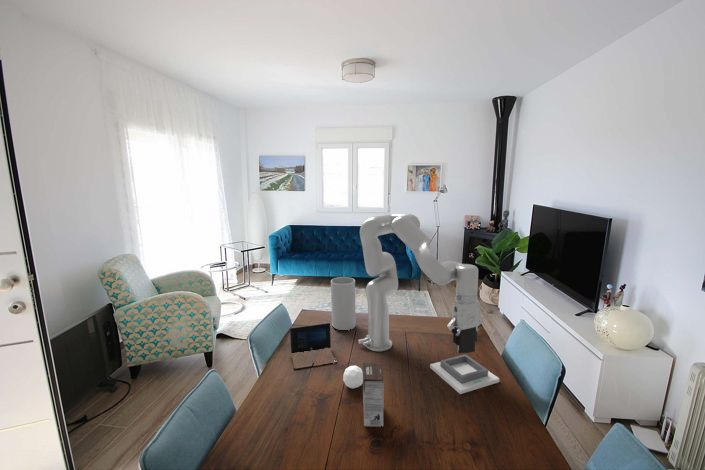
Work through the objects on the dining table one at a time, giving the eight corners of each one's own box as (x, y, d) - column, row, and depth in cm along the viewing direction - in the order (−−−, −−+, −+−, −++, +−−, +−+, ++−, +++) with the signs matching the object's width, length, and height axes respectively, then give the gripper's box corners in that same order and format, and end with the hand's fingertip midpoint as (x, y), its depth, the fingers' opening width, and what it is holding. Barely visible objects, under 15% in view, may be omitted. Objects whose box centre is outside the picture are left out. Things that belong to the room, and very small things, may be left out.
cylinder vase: (360, 325, 169) (360, 280, 165) (344, 334, 160) (342, 286, 156) (343, 319, 178) (342, 275, 174) (327, 326, 169) (325, 281, 165)
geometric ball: (349, 395, 118) (335, 380, 116) (355, 376, 124) (343, 362, 123) (364, 391, 114) (350, 377, 112) (370, 372, 120) (357, 358, 118)
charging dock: (460, 394, 113) (460, 383, 113) (430, 367, 130) (430, 358, 129) (499, 382, 120) (499, 372, 119) (465, 358, 136) (466, 349, 136)
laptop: (293, 371, 129) (292, 341, 127) (290, 355, 141) (289, 327, 139) (337, 363, 134) (336, 334, 132) (330, 349, 146) (330, 322, 144)
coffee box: (363, 406, 108) (362, 362, 105) (382, 406, 108) (382, 362, 105) (363, 426, 99) (362, 379, 96) (384, 427, 99) (384, 379, 96)
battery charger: (470, 347, 125) (471, 319, 124) (475, 352, 122) (477, 324, 120) (453, 349, 124) (454, 321, 123) (458, 354, 121) (459, 325, 119)
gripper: (454, 304, 113) (452, 351, 116) (492, 297, 120) (489, 341, 122) (440, 297, 120) (439, 342, 123) (477, 291, 126) (475, 333, 129)
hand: (464, 341), depth 123 cm, fingers closed on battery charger, 7 cm apart
